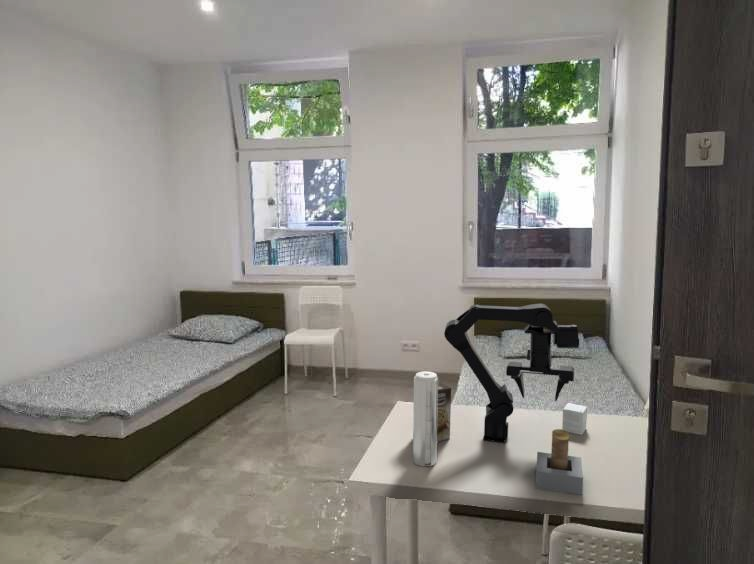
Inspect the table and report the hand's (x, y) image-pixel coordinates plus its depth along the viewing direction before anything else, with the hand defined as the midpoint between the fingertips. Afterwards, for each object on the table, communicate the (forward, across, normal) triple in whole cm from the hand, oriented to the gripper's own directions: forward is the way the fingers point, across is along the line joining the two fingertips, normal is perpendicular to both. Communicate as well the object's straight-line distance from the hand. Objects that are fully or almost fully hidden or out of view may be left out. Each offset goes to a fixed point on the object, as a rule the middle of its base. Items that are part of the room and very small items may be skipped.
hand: (539, 399), depth 163 cm
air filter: (+12, +28, +24) cm, 39 cm away
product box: (+14, -10, -12) cm, 21 cm away
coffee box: (+12, +30, +10) cm, 34 cm away
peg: (+13, -7, +22) cm, 27 cm away
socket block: (+13, -7, +22) cm, 27 cm away
